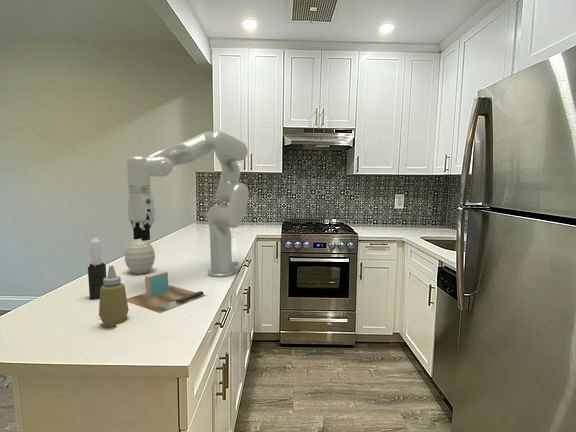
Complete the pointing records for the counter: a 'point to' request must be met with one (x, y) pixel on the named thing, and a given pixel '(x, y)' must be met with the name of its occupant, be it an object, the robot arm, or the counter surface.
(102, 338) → the counter surface
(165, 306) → the turner
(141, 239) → the vase
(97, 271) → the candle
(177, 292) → the board
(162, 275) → the tile
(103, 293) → the squeeze bottle
